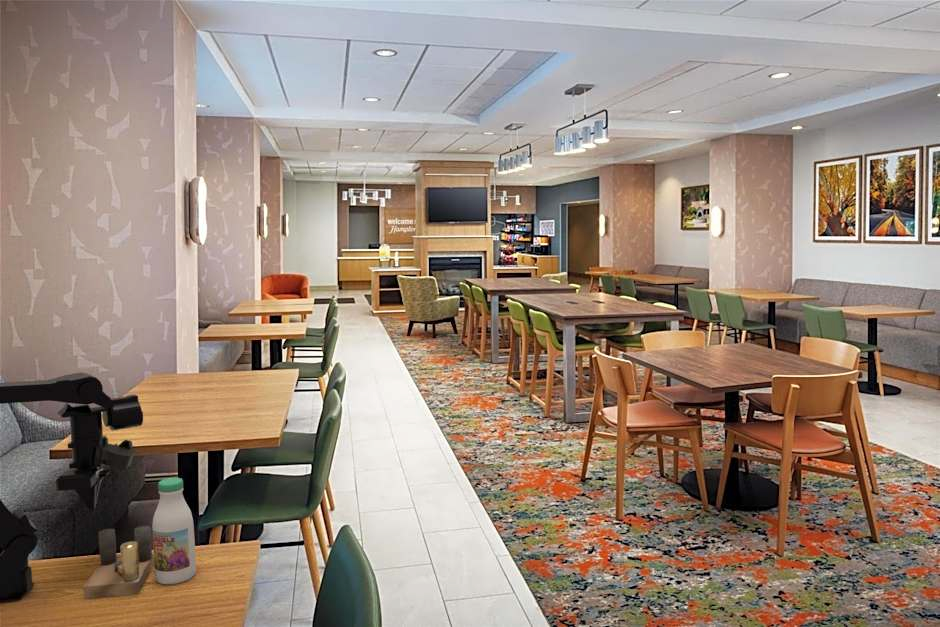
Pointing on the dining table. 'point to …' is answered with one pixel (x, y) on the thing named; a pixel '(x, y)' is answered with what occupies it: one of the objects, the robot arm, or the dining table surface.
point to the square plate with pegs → (107, 576)
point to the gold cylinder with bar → (129, 561)
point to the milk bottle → (173, 535)
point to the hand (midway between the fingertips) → (91, 509)
